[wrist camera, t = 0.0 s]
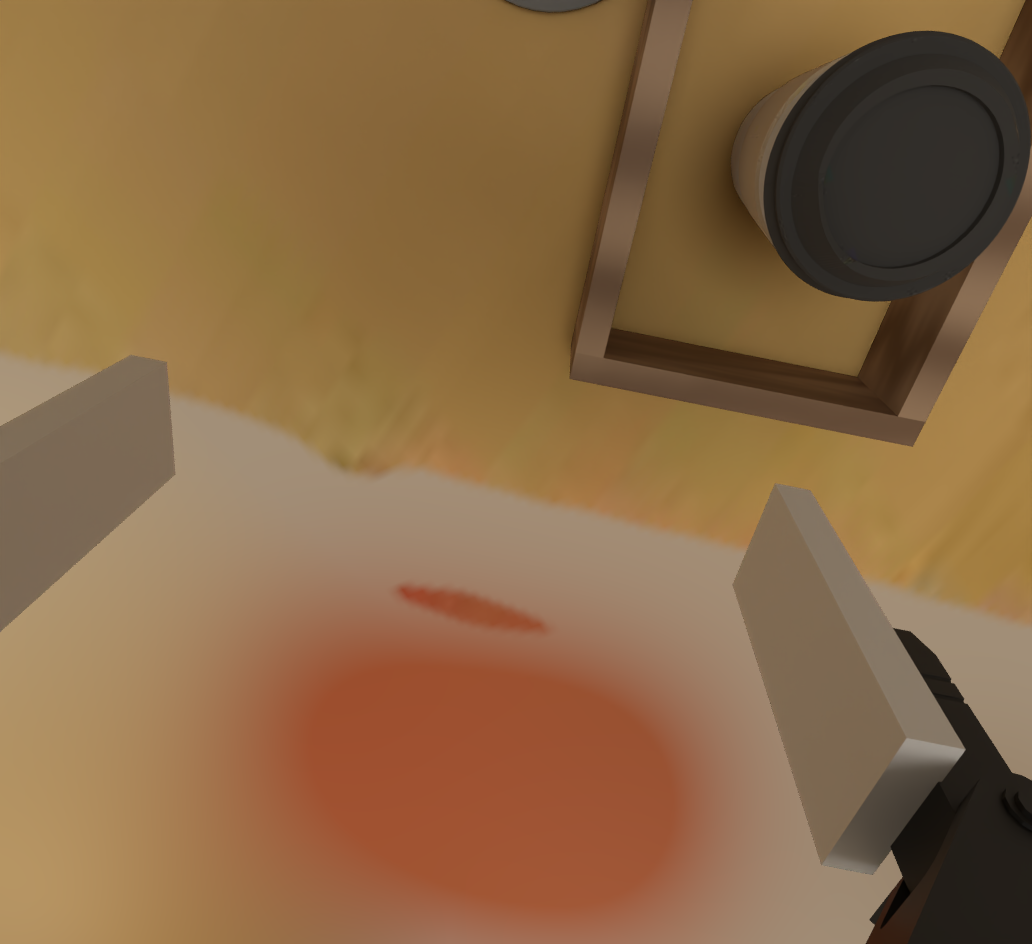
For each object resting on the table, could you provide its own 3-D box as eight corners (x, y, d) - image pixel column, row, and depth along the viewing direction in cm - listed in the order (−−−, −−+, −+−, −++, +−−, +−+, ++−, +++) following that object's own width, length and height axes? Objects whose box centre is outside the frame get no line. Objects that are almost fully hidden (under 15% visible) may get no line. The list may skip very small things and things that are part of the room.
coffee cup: (860, 18, 33) (1046, -44, 20) (906, 195, 36) (1090, 243, 23) (683, 116, 36) (743, 120, 22) (742, 272, 39) (823, 355, 26)
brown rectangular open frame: (668, -94, 32) (686, -134, 26) (1065, -13, 32) (1162, -37, 26) (571, 344, 42) (569, 378, 37) (871, 404, 42) (912, 446, 37)
